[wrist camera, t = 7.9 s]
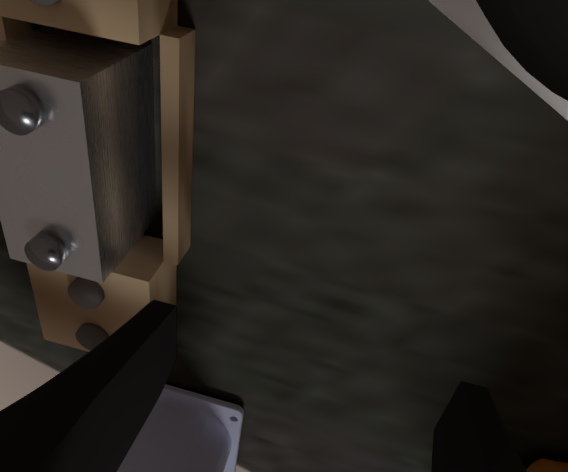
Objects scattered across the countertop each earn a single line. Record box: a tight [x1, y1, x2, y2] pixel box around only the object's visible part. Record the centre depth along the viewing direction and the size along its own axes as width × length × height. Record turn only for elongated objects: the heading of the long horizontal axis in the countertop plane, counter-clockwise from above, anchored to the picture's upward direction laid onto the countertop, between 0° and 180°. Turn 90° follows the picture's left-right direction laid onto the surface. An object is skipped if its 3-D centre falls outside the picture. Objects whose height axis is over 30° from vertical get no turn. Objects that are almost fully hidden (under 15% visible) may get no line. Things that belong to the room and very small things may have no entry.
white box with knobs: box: [0, 26, 157, 283], centre depth 19 cm, size 8×4×6 cm, turn 172°
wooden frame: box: [0, 0, 196, 352], centre depth 20 cm, size 22×7×3 cm, turn 173°
